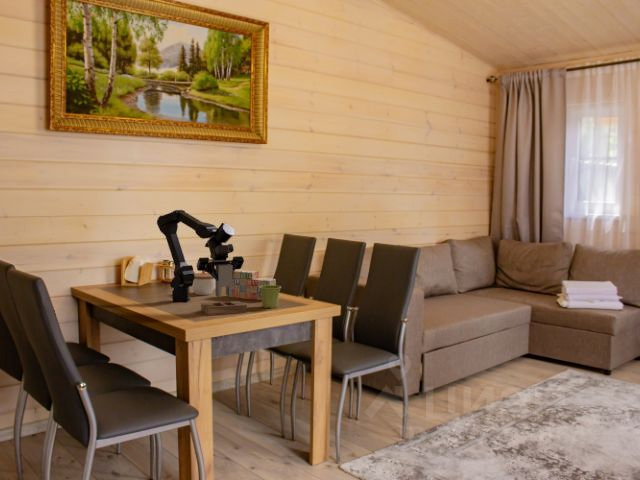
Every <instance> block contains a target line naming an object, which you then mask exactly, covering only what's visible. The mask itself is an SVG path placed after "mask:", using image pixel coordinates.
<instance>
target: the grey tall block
mask: <svg viewBox="0 0 640 480" xmlns="http://www.w3.org/2000/svg"><path fill="white" fill-rule="evenodd" d="M215 270H216V273H217V276H218V281H216V280H215V285H216V287H215V296H216V297H219V298H220V297H222V295H223V294H222V288H223V287H224V288H225V295H226V296H228V297H229V296H232V273H233V265H230V264H218V265H216V266H215Z"/></svg>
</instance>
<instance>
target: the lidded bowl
mask: <svg viewBox="0 0 640 480" xmlns="http://www.w3.org/2000/svg"><path fill="white" fill-rule="evenodd" d="M194 275H195V278H194V281H193V285H192V286H190V288H191V290H192V291H193V292H194V293H195V295H198V296H208V295H212V293H213V292H214V291H215V290H216V285H215V279H214V278H213V277H212V276H211V275H210V274H209V273H207V272H205V271H201V272H195V274H194Z"/></svg>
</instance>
